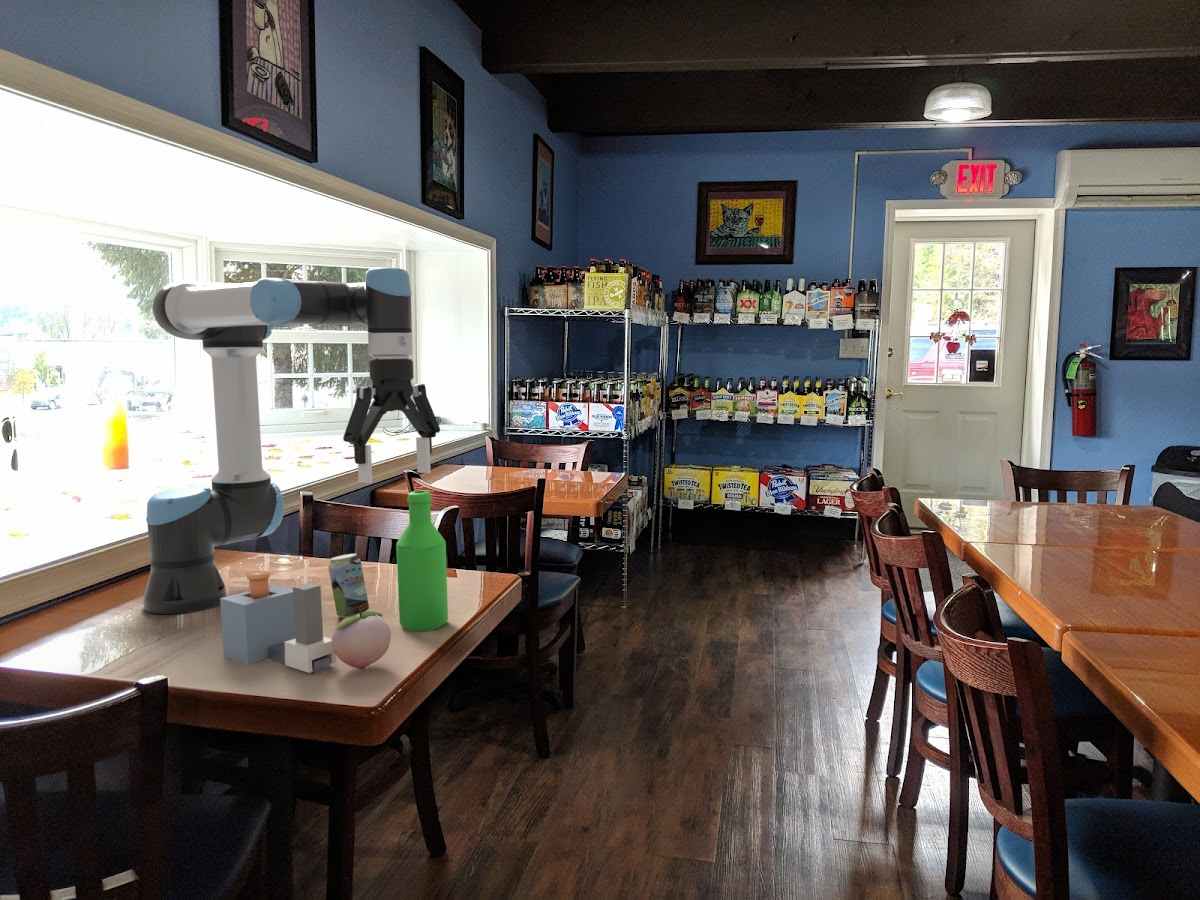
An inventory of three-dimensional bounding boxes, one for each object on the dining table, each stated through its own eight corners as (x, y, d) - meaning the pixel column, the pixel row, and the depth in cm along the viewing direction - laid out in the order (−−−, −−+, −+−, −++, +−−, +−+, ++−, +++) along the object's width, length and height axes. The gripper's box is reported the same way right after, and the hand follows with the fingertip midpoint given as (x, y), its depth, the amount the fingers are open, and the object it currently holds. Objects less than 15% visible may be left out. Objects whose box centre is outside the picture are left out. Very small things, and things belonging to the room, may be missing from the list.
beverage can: (360, 622, 160) (357, 559, 159) (324, 620, 162) (321, 558, 160) (375, 612, 166) (372, 551, 165) (340, 610, 168) (337, 550, 166)
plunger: (244, 603, 143) (242, 574, 143) (263, 598, 146) (261, 569, 146) (256, 606, 141) (255, 577, 141) (276, 601, 144) (274, 572, 144)
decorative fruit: (367, 683, 130) (364, 620, 129) (324, 676, 133) (321, 614, 132) (403, 663, 139) (401, 603, 138) (362, 656, 142) (360, 598, 141)
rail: (269, 659, 141) (268, 647, 141) (285, 653, 144) (284, 642, 144) (314, 674, 134) (314, 662, 134) (330, 668, 137) (329, 656, 137)
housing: (223, 656, 143) (220, 598, 142) (276, 639, 151) (273, 584, 150) (248, 664, 139) (244, 605, 138) (301, 647, 147) (298, 590, 146)
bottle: (431, 635, 152) (426, 497, 149) (390, 630, 155) (384, 494, 152) (456, 620, 161) (452, 489, 158) (416, 615, 164) (411, 487, 161)
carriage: (285, 664, 137) (280, 587, 135) (312, 655, 141) (308, 579, 140) (308, 672, 133) (304, 593, 132) (336, 662, 138) (332, 585, 136)
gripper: (347, 358, 138) (353, 488, 140) (456, 356, 158) (460, 470, 161) (317, 359, 142) (324, 485, 145) (428, 357, 162) (432, 467, 165)
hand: (395, 477), depth 153 cm, fingers open, 13 cm apart
